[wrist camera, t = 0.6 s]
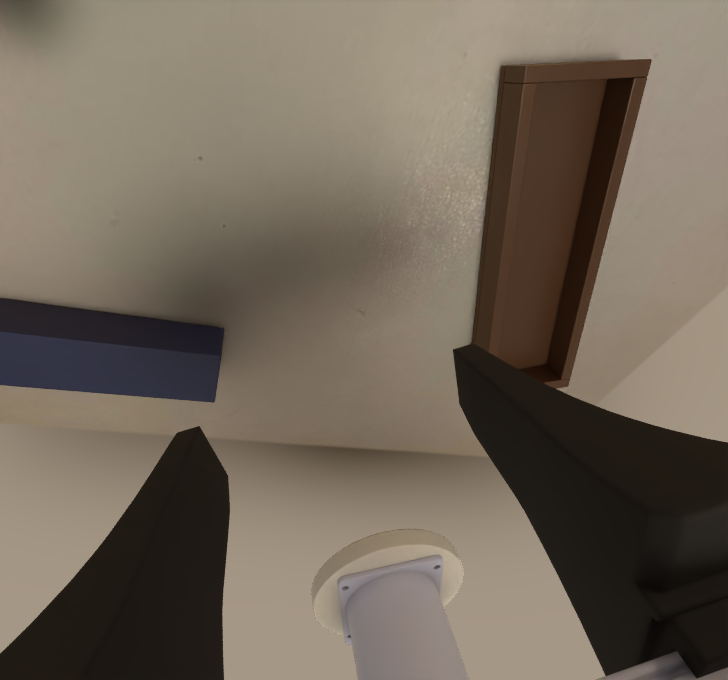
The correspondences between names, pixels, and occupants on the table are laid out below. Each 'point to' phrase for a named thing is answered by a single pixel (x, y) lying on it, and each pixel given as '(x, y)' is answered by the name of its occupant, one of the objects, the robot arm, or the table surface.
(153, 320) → the marker
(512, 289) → the pen tray
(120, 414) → the table surface
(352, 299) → the table surface
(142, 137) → the table surface
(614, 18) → the table surface
